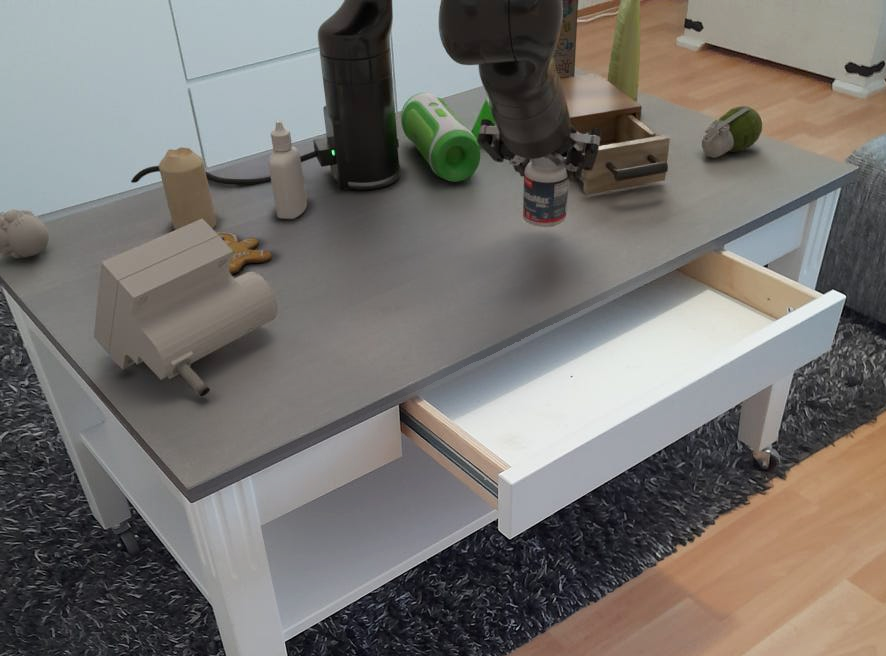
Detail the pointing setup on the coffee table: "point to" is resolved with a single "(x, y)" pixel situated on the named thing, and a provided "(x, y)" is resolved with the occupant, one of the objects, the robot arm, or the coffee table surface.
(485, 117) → the gemstone
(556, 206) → the pill bottle
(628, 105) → the wooden mini dresser
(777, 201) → the coffee table surface
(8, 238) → the beige rounded lump
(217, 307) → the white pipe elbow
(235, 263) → the cookie
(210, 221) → the candle
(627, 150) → the dresser drawer
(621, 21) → the tube
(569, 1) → the juice carton
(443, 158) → the speaker
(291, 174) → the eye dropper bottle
